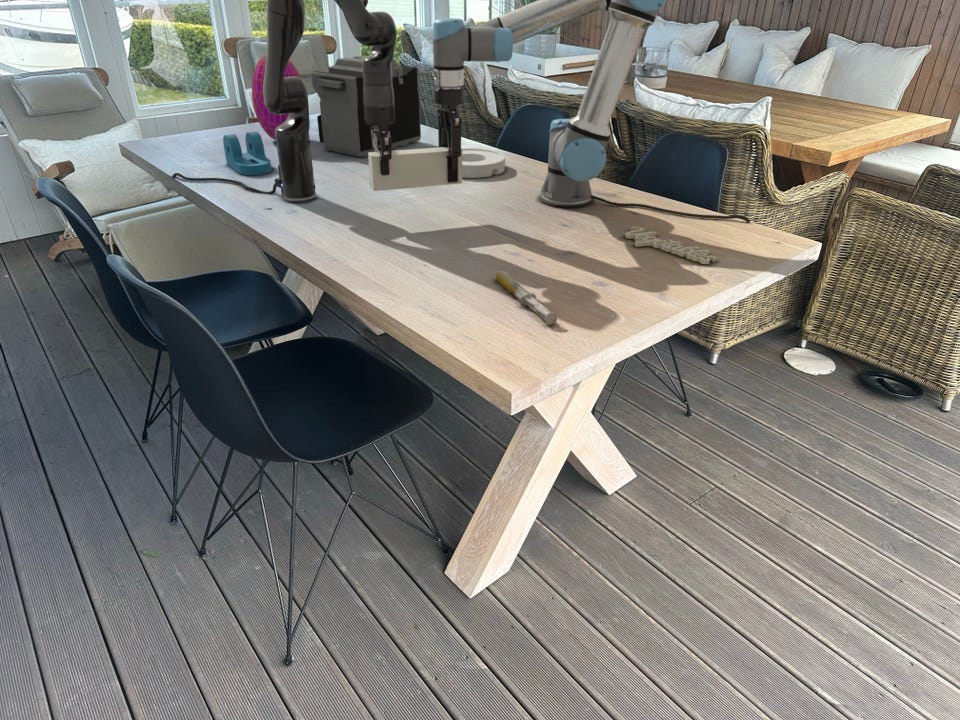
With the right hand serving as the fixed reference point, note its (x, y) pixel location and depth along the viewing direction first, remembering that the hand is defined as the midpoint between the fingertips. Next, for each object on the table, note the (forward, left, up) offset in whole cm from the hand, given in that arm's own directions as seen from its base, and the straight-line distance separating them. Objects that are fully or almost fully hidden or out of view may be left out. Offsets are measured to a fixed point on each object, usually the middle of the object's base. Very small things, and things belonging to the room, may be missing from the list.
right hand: (449, 179), depth 184 cm
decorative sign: (-59, -3, -10) cm, 60 cm away
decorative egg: (+98, -51, -10) cm, 111 cm away
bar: (+6, +7, -1) cm, 9 cm away
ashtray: (+16, -47, -10) cm, 51 cm away
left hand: (+13, +13, +3) cm, 18 cm away
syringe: (-39, +41, -10) cm, 57 cm away
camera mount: (+81, -13, -10) cm, 83 cm away
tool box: (+63, -58, -10) cm, 87 cm away
